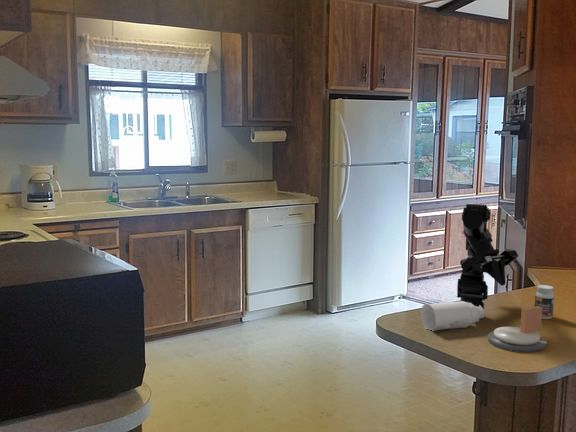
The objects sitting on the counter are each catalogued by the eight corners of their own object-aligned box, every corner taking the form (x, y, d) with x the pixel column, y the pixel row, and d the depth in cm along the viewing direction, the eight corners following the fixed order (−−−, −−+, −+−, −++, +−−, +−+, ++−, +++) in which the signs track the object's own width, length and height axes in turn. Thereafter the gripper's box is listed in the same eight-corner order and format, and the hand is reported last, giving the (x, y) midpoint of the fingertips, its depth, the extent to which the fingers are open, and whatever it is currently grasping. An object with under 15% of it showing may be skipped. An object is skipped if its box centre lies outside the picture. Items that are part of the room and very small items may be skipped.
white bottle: (489, 329, 184) (490, 303, 182) (433, 334, 178) (434, 308, 177) (473, 321, 191) (474, 296, 190) (419, 326, 185) (420, 300, 184)
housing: (494, 351, 165) (495, 346, 165) (483, 332, 180) (483, 328, 179) (552, 353, 163) (553, 348, 163) (536, 335, 178) (536, 330, 178)
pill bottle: (532, 318, 194) (534, 287, 193) (534, 313, 200) (536, 283, 198) (552, 320, 192) (554, 289, 190) (553, 316, 197) (555, 285, 196)
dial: (515, 347, 164) (517, 318, 162) (484, 333, 174) (486, 306, 173) (555, 340, 169) (556, 312, 168) (522, 327, 180) (524, 301, 179)
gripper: (485, 252, 200) (509, 293, 192) (441, 257, 191) (464, 302, 184) (506, 232, 192) (532, 275, 184) (461, 238, 183) (486, 283, 175)
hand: (503, 284), depth 182 cm, fingers closed
